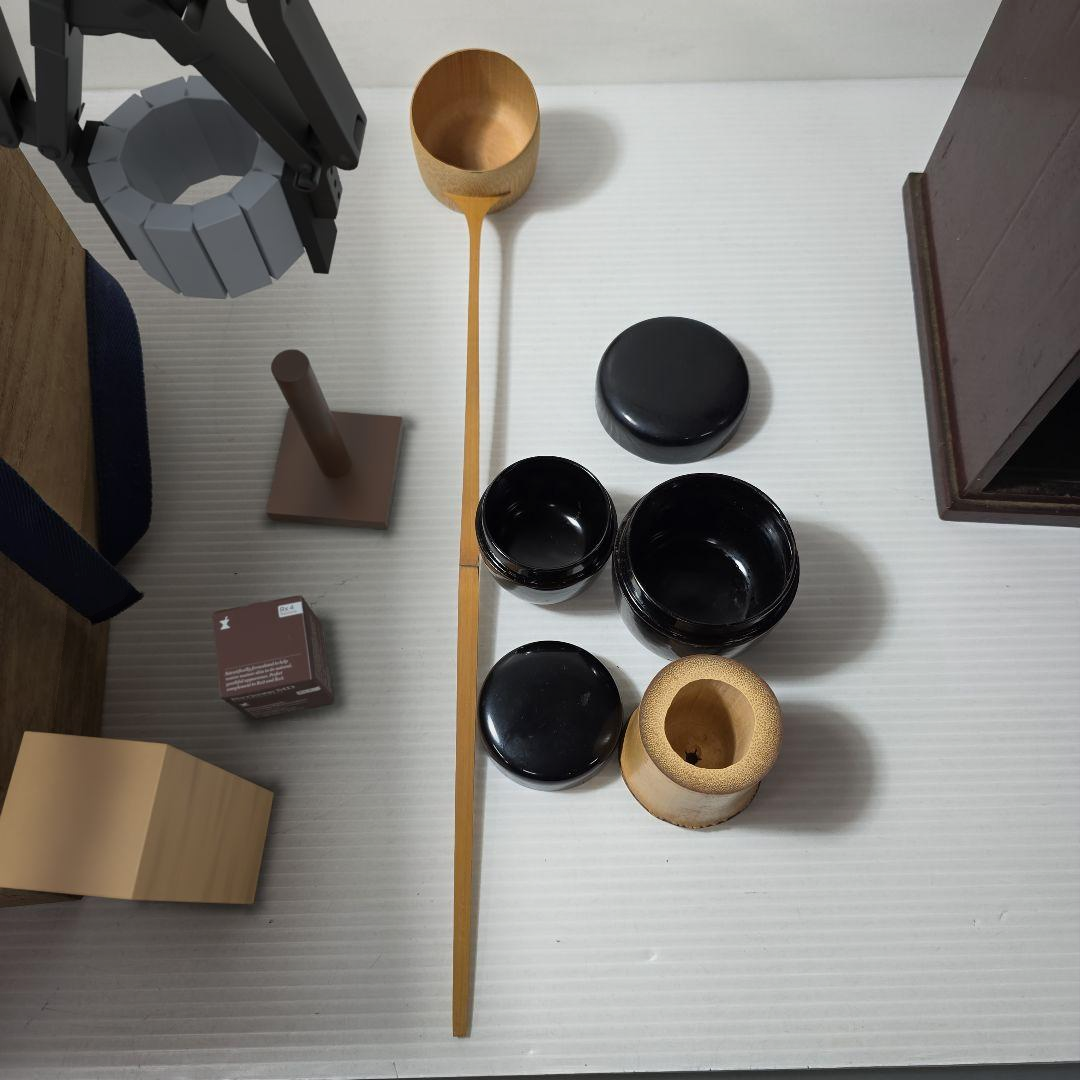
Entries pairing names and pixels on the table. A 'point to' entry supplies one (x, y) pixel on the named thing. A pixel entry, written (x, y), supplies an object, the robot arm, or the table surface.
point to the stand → (130, 822)
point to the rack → (331, 456)
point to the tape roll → (182, 161)
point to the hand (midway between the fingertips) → (234, 245)
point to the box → (272, 657)
